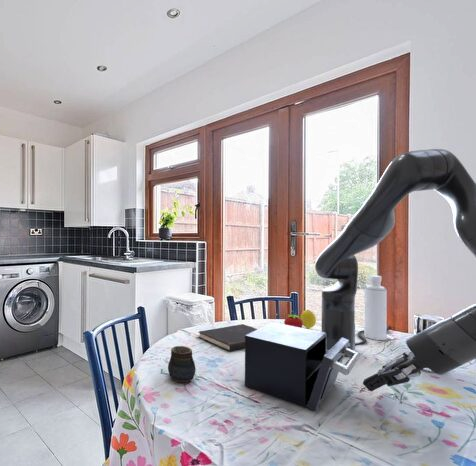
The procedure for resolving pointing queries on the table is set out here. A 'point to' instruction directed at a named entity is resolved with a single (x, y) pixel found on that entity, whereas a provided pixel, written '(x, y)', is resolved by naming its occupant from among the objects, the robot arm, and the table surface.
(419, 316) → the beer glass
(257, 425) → the table surface
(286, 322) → the strawberry
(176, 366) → the mate gourd
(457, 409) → the table surface
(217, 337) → the hardcover book
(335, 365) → the oven door
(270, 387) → the oven
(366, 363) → the table surface
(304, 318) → the lemon
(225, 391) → the table surface
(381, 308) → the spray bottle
